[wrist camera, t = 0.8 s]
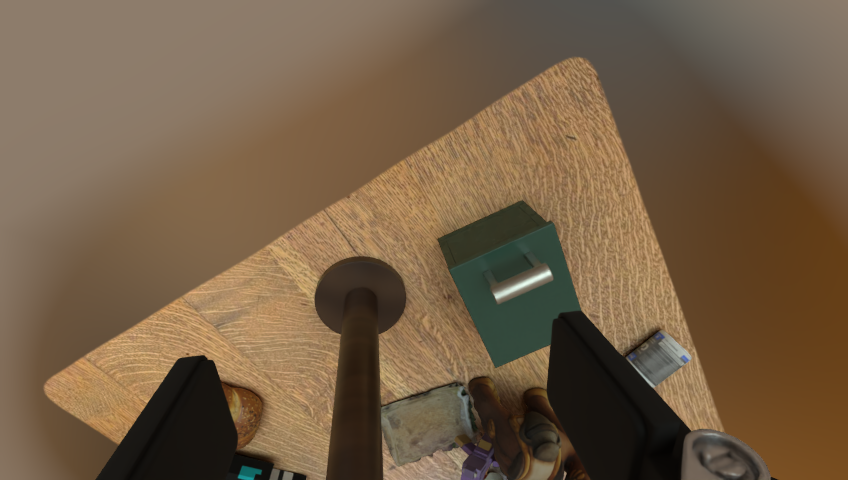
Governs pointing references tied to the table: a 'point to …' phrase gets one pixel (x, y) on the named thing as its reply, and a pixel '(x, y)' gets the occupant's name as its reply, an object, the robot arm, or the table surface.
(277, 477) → the toy
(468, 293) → the box lid
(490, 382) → the figurine
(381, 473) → the post
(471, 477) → the toy figure
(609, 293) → the table surface
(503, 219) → the green box
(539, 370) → the table surface
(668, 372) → the pill bottle
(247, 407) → the pretzel
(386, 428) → the parchment
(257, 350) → the table surface
